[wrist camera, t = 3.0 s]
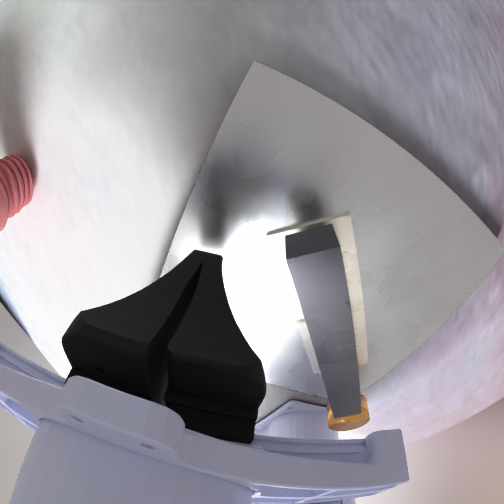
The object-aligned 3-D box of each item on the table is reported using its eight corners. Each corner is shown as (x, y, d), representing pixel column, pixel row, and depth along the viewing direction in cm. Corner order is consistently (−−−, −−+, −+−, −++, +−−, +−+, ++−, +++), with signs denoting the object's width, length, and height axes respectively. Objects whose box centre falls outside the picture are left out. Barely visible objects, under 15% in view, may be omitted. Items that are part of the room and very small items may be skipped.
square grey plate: (345, 391, 22) (348, 414, 20) (147, 324, 19) (135, 349, 17) (496, 240, 13) (516, 260, 11) (255, 63, 10) (251, 56, 8)
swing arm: (366, 407, 19) (369, 425, 18) (328, 415, 20) (330, 433, 18) (345, 219, 11) (356, 242, 9) (270, 239, 12) (269, 264, 10)
